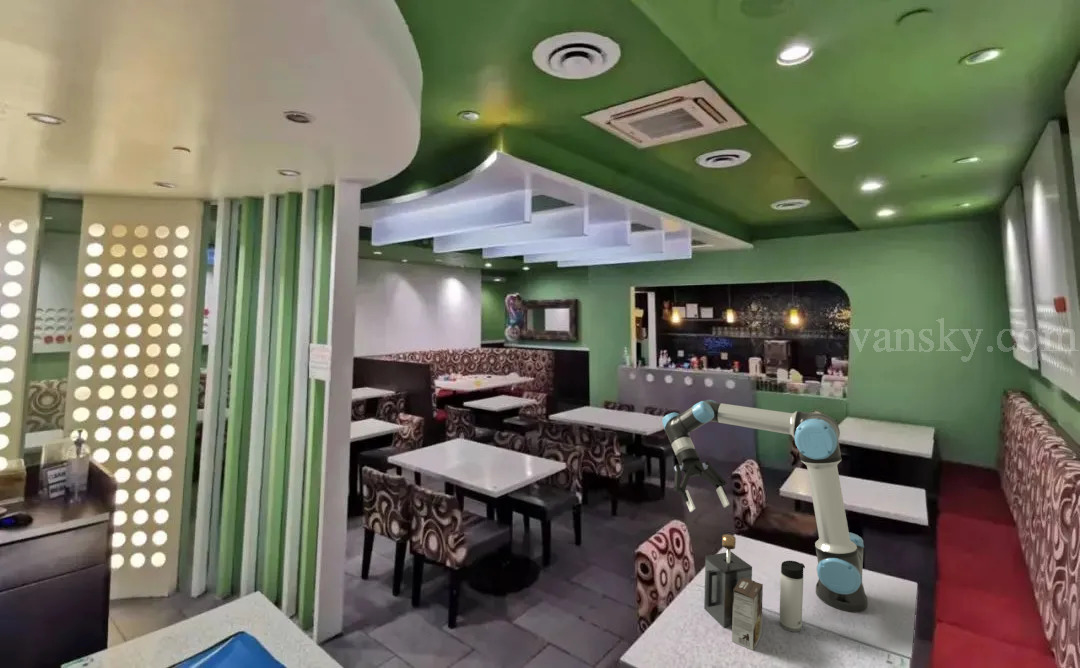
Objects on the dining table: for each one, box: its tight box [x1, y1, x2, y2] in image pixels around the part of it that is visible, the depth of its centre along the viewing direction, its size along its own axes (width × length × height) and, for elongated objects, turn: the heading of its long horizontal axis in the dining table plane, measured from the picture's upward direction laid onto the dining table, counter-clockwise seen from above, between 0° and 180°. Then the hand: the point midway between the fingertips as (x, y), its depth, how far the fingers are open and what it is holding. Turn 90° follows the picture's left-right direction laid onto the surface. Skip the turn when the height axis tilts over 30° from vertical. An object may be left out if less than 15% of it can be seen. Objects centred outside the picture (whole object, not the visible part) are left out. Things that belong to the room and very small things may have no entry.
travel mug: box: [778, 560, 806, 633], centre depth 151 cm, size 6×7×20 cm
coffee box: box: [731, 577, 764, 651], centre depth 145 cm, size 9×6×16 cm
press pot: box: [703, 551, 753, 629], centre depth 156 cm, size 13×10×18 cm
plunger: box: [721, 533, 736, 563], centre depth 156 cm, size 8×8×24 cm
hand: (710, 508), depth 165 cm, fingers open, 13 cm apart
